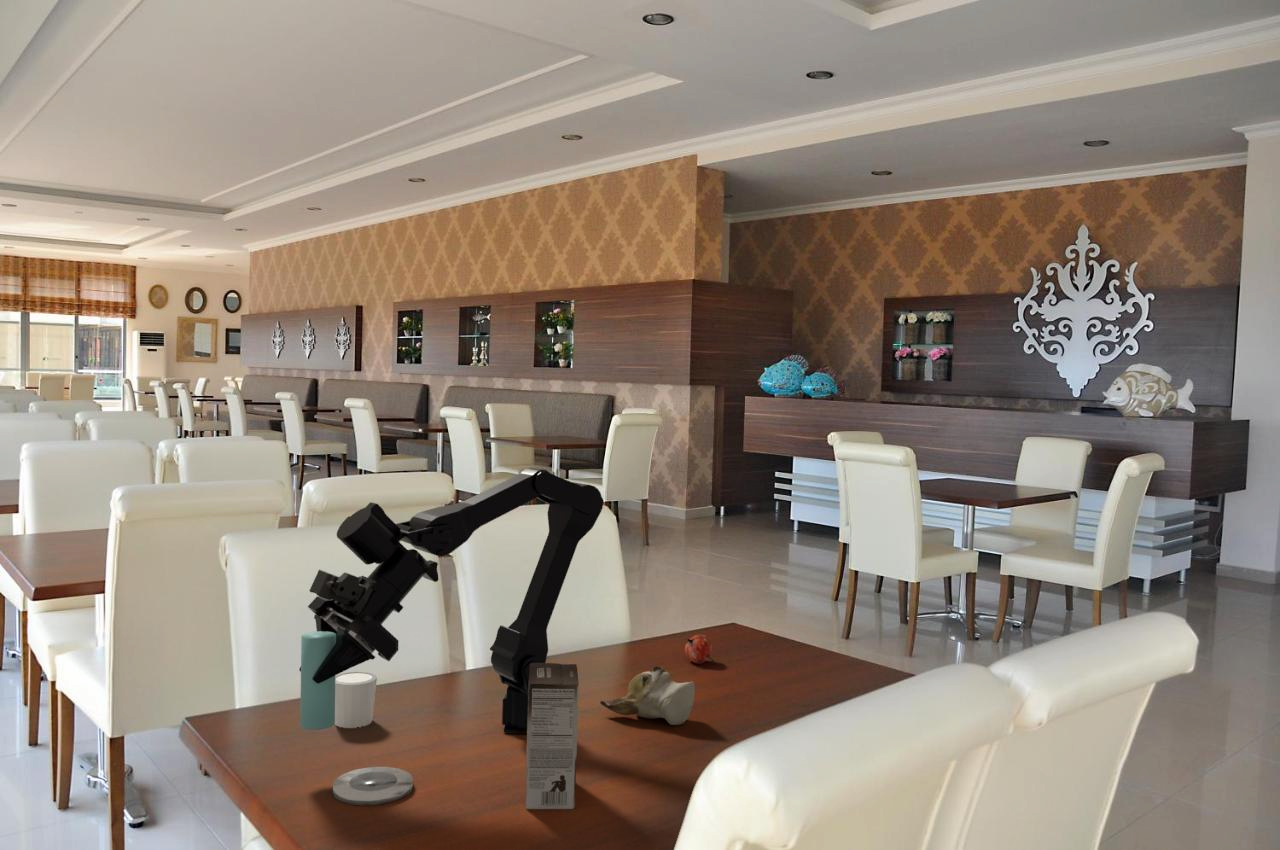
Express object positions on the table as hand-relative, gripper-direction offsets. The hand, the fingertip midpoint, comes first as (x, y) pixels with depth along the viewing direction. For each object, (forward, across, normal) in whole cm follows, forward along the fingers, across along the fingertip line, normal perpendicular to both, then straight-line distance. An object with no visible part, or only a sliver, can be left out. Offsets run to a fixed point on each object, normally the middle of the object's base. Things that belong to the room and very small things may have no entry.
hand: (308, 677), depth 131 cm
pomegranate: (-48, -13, +68) cm, 84 cm away
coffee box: (-7, +23, +26) cm, 36 cm away
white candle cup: (0, -17, +19) cm, 26 cm away
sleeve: (+4, 0, +6) cm, 7 cm away
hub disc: (+6, +9, +13) cm, 17 cm away
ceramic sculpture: (-28, +7, +48) cm, 56 cm away
